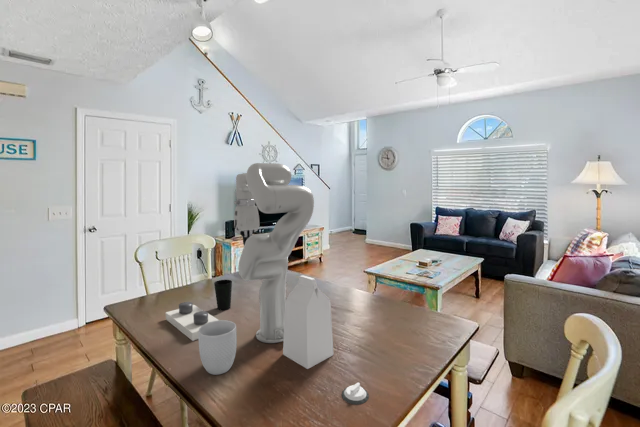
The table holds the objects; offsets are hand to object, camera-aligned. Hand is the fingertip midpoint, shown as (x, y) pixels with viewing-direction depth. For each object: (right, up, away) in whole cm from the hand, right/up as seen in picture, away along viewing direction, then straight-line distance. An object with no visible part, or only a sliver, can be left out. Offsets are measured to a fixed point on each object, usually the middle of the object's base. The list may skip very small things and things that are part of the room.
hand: (247, 245), depth 141 cm
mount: (-19, -30, -10) cm, 37 cm away
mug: (0, -34, -40) cm, 52 cm away
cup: (-12, -29, +7) cm, 32 cm away
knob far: (-24, -29, -5) cm, 38 cm away
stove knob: (+41, -35, -54) cm, 76 cm away
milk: (+27, -33, -33) cm, 54 cm away
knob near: (-14, -30, -15) cm, 37 cm away
